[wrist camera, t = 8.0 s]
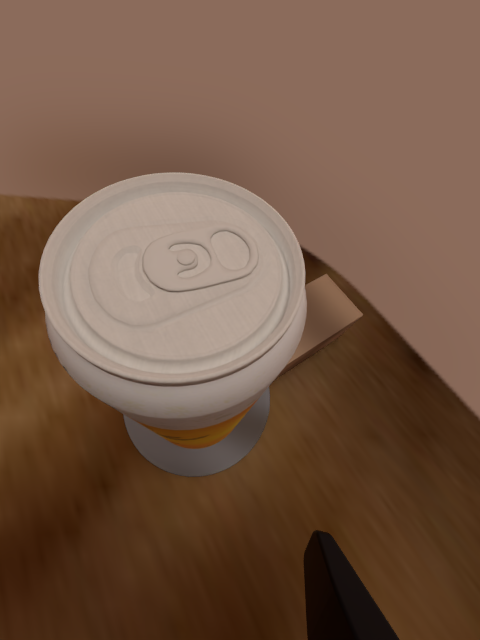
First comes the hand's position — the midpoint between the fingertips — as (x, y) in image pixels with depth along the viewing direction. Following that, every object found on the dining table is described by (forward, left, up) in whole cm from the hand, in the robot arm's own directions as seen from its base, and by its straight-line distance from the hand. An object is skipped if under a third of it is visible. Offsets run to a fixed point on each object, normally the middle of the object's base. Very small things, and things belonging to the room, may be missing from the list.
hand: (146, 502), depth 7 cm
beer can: (+4, +3, -11) cm, 12 cm away
